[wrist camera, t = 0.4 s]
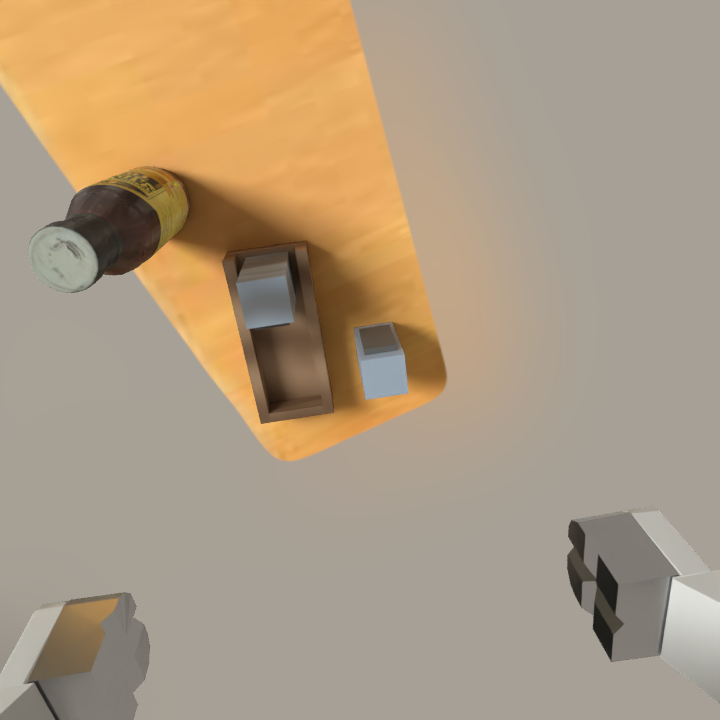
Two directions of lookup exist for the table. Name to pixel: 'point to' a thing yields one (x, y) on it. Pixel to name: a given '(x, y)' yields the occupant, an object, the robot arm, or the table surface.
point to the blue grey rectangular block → (380, 361)
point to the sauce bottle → (110, 229)
